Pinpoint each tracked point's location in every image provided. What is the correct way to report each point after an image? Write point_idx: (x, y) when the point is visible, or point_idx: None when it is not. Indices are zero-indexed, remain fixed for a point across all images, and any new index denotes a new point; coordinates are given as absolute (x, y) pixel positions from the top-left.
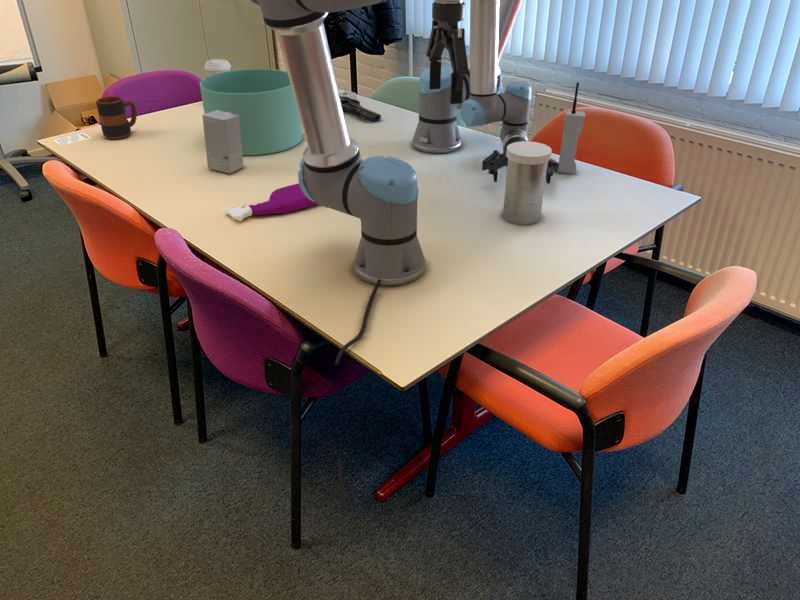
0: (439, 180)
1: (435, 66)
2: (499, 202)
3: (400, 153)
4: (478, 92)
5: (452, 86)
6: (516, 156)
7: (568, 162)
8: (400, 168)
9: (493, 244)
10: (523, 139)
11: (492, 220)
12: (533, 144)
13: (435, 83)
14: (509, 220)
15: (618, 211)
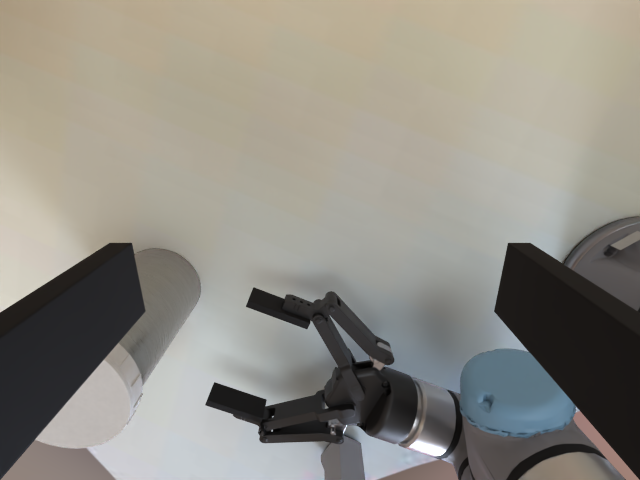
0: (404, 196)
1: (634, 394)
2: (239, 273)
3: (631, 165)
4: (537, 475)
5: (13, 309)
6: None
7: (330, 464)
8: None
9: (40, 174)
10: (389, 439)
11: (154, 222)
12: (97, 421)
13: (523, 298)
14: (139, 252)
15: (151, 436)
